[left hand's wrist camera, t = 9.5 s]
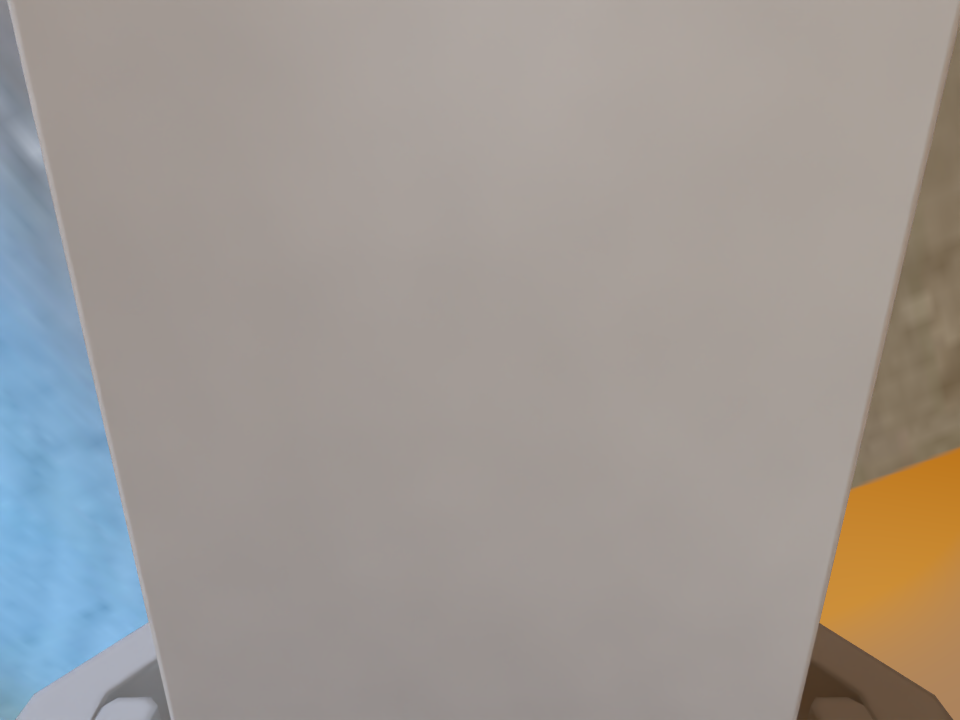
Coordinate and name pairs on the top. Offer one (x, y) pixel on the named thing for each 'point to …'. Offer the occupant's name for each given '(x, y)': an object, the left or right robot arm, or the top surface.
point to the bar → (484, 334)
